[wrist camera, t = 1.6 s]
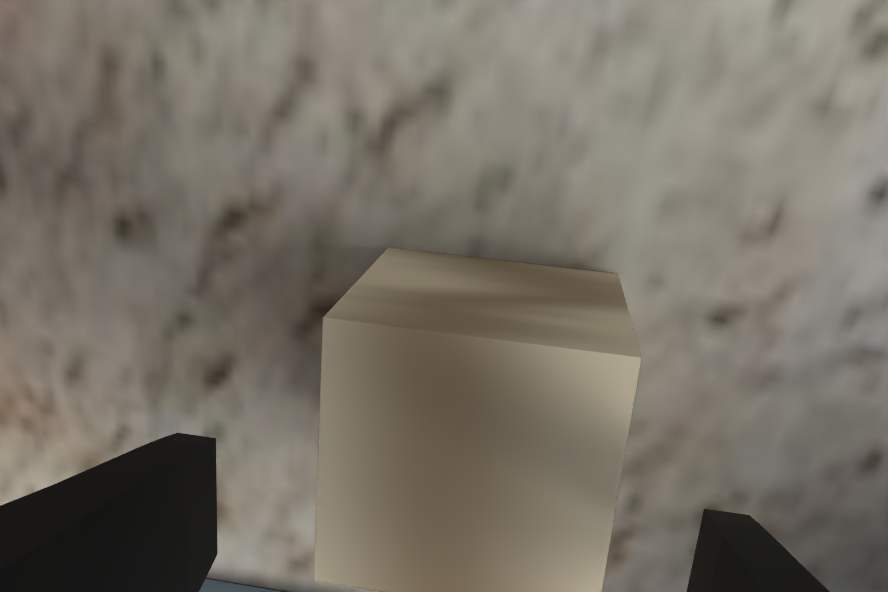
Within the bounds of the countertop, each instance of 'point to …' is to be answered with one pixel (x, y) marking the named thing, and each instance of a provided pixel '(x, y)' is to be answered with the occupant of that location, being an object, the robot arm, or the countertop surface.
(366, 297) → the maple block
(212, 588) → the blueprint board
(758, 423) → the countertop surface
